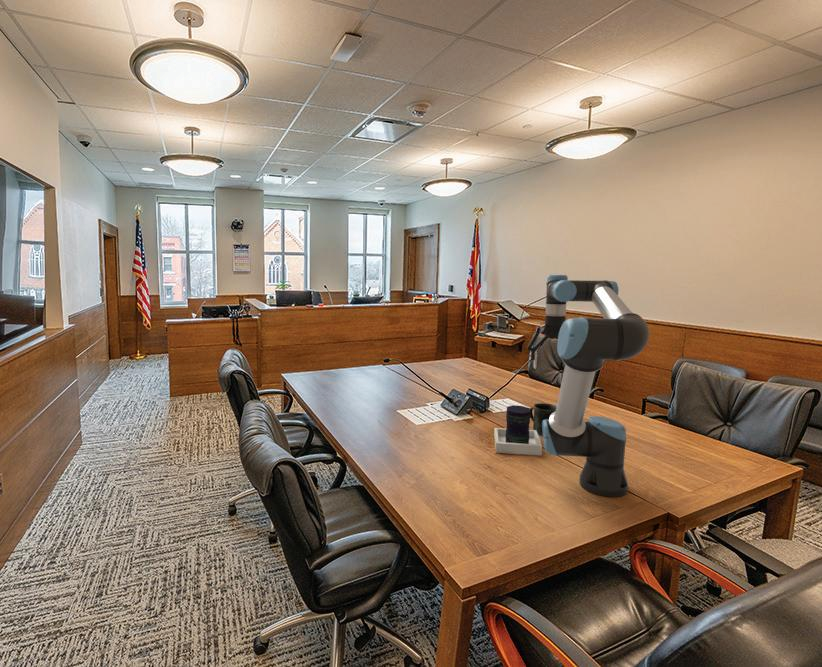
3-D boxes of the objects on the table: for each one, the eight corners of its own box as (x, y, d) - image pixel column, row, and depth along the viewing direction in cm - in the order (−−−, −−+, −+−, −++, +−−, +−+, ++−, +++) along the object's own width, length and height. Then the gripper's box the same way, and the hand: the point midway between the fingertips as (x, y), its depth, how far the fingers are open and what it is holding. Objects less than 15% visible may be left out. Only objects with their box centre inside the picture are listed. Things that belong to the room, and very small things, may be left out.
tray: (541, 455, 173) (542, 445, 173) (495, 452, 176) (496, 443, 175) (535, 439, 191) (536, 430, 190) (494, 436, 194) (494, 427, 193)
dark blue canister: (529, 448, 177) (531, 413, 175) (505, 446, 179) (506, 411, 177) (528, 439, 187) (529, 406, 185) (505, 438, 189) (506, 404, 187)
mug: (546, 438, 192) (548, 411, 190) (521, 428, 204) (522, 403, 202) (562, 433, 198) (563, 407, 196) (537, 424, 210) (538, 400, 208)
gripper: (586, 314, 170) (583, 368, 173) (521, 313, 174) (519, 365, 177) (591, 316, 163) (588, 372, 166) (523, 315, 167) (521, 369, 169)
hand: (552, 368), depth 171 cm, fingers open, 13 cm apart
